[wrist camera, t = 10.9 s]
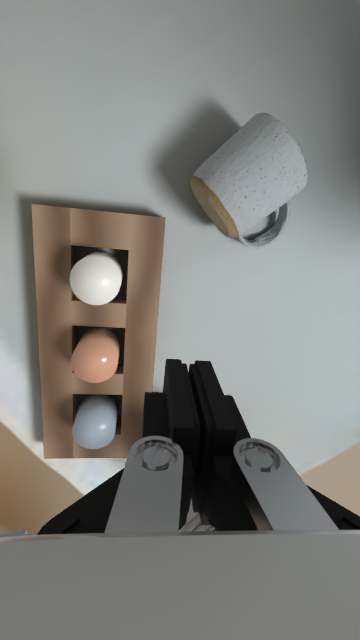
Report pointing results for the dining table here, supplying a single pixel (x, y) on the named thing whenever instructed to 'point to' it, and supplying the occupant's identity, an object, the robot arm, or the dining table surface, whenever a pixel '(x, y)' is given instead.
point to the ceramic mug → (251, 179)
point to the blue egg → (95, 421)
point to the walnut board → (94, 320)
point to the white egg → (96, 278)
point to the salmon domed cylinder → (96, 355)
